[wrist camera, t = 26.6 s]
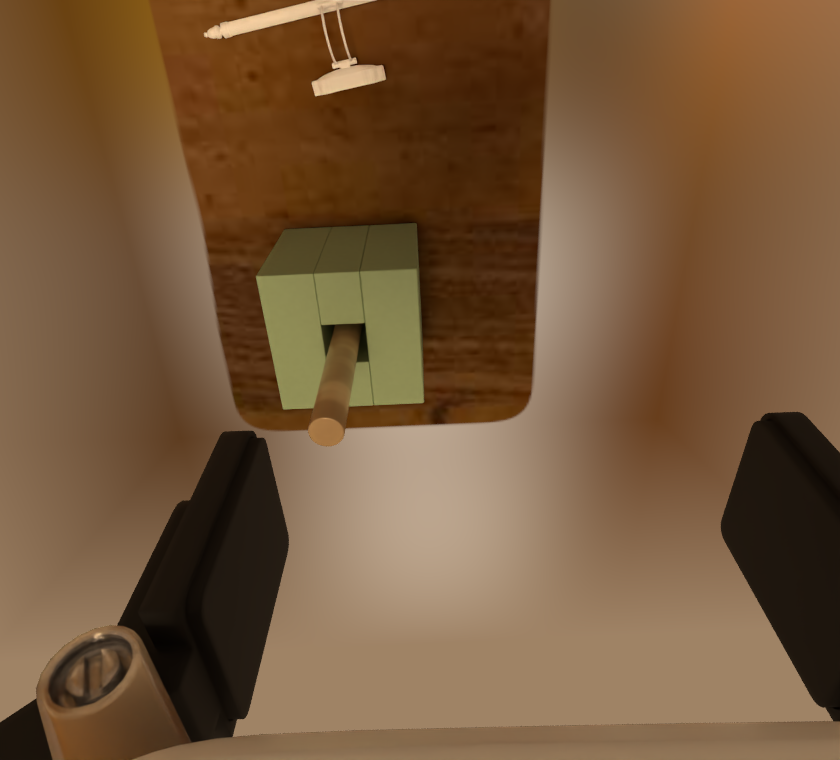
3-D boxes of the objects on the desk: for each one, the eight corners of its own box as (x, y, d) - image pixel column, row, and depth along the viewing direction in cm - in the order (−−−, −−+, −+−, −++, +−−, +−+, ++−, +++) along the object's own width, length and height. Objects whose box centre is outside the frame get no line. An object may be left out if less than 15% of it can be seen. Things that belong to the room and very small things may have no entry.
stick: (367, 277, 39) (342, 416, 26) (369, 299, 40) (346, 446, 26) (343, 278, 39) (305, 418, 26) (345, 300, 40) (310, 447, 26)
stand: (416, 222, 37) (417, 268, 30) (422, 340, 42) (424, 403, 35) (284, 228, 37) (255, 276, 31) (304, 345, 42) (283, 409, 35)
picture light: (461, -37, 30) (464, -41, 28) (474, 57, 32) (478, 60, 31) (203, 27, 32) (190, 28, 30) (233, 114, 34) (223, 119, 32)
